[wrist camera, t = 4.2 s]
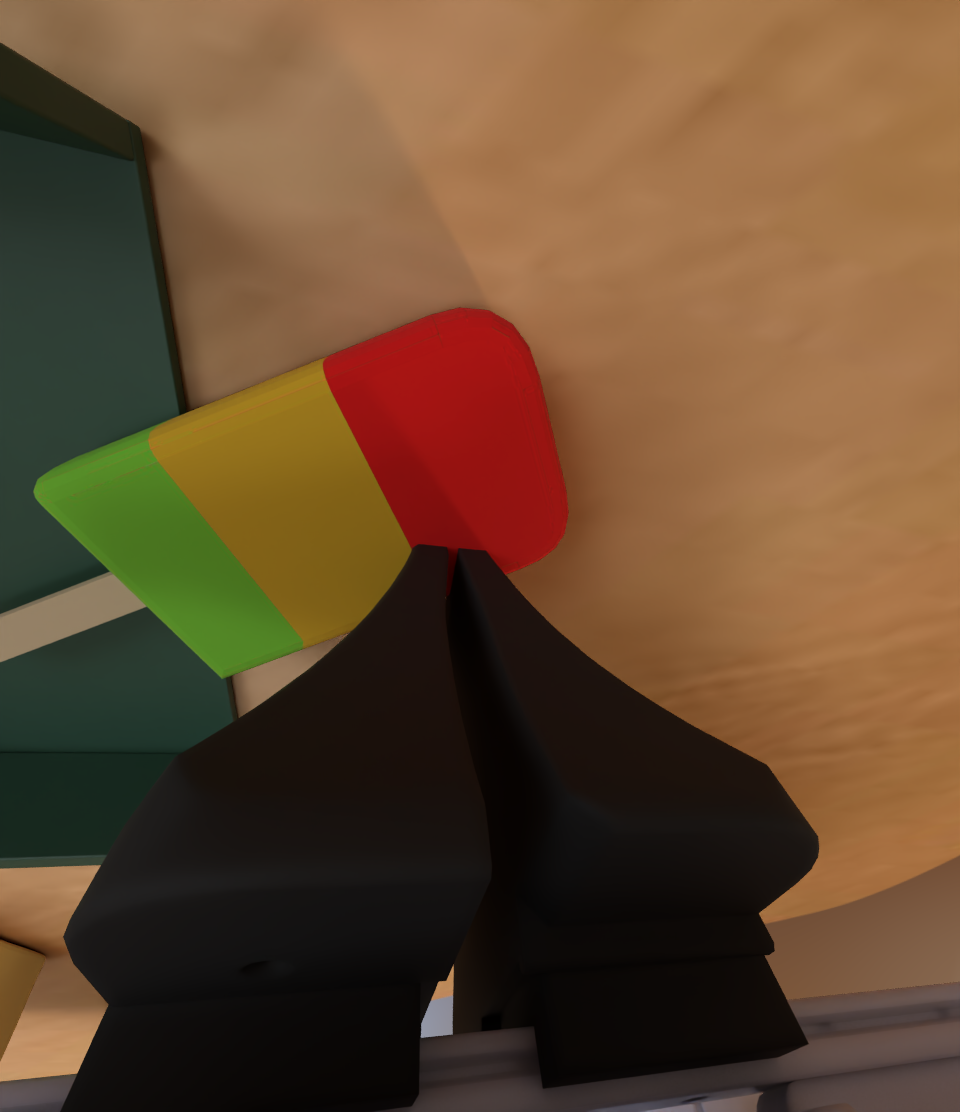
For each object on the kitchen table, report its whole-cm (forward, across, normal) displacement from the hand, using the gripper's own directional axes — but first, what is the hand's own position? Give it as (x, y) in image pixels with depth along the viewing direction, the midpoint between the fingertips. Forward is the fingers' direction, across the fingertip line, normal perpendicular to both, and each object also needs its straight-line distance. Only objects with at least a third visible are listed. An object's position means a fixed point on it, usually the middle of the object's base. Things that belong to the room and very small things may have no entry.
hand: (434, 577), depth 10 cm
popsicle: (+1, +5, 0) cm, 5 cm away
